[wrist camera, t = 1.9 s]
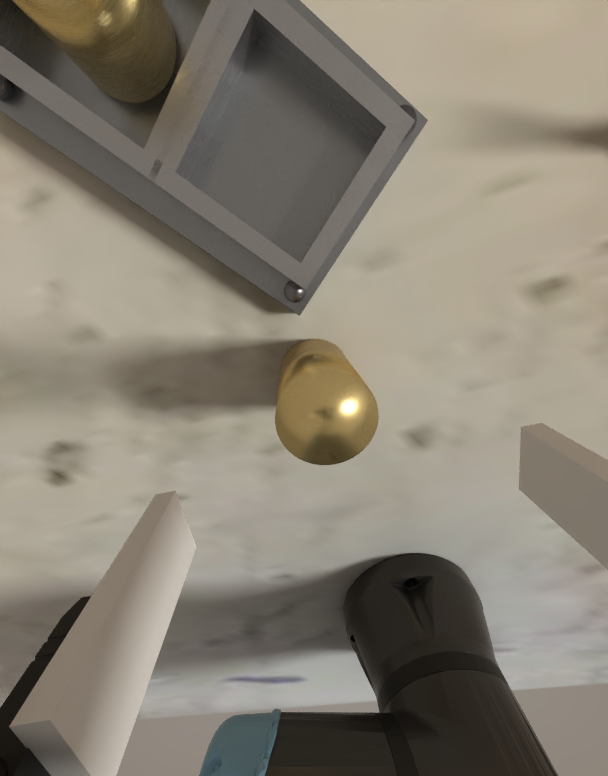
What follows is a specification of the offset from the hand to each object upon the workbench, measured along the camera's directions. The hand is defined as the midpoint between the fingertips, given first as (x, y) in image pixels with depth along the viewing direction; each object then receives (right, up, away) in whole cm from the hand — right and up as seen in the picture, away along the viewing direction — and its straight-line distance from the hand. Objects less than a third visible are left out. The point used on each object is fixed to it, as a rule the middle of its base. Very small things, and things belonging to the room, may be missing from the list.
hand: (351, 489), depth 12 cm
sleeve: (-1, +5, +16) cm, 17 cm away
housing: (-8, +22, +10) cm, 26 cm away
